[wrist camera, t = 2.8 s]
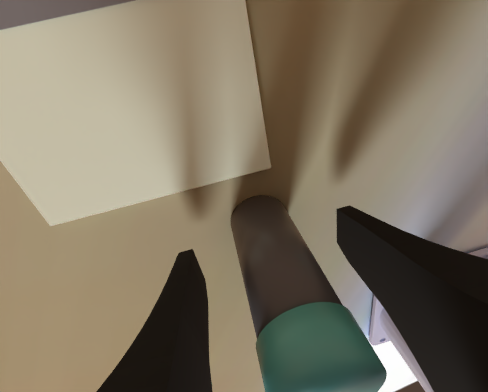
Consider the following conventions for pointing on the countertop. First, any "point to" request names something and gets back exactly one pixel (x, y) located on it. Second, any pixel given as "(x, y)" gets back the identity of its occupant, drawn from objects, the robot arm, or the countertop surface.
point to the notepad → (126, 100)
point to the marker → (297, 309)
